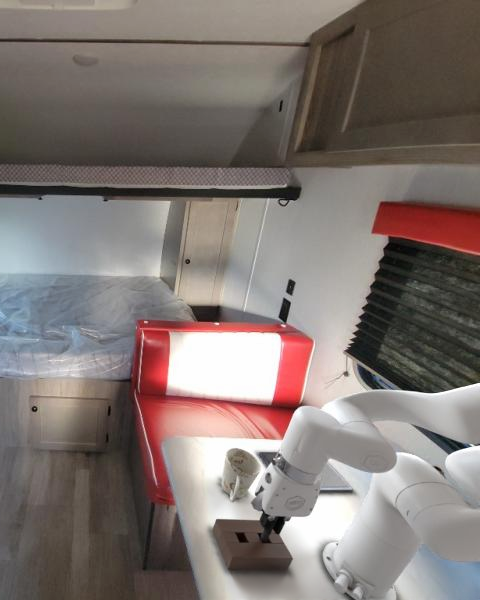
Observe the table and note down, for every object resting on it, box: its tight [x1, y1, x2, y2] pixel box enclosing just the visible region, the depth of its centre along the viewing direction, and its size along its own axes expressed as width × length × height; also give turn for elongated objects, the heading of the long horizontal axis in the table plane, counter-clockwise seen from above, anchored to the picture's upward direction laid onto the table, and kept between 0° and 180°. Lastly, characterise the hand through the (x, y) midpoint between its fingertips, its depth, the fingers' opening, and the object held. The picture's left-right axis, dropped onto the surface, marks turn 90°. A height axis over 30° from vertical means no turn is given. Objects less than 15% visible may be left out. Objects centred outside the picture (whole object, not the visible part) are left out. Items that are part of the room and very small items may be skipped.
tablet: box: [258, 451, 354, 493], centre depth 97 cm, size 20×13×1 cm, turn 95°
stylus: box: [260, 516, 279, 543], centre depth 73 cm, size 1×1×13 cm
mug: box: [221, 447, 262, 503], centre depth 86 cm, size 8×13×10 cm, turn 152°
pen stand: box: [211, 518, 294, 571], centre depth 74 cm, size 8×13×4 cm, turn 92°
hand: (269, 527), depth 72 cm, fingers closed on stylus, 1 cm apart
